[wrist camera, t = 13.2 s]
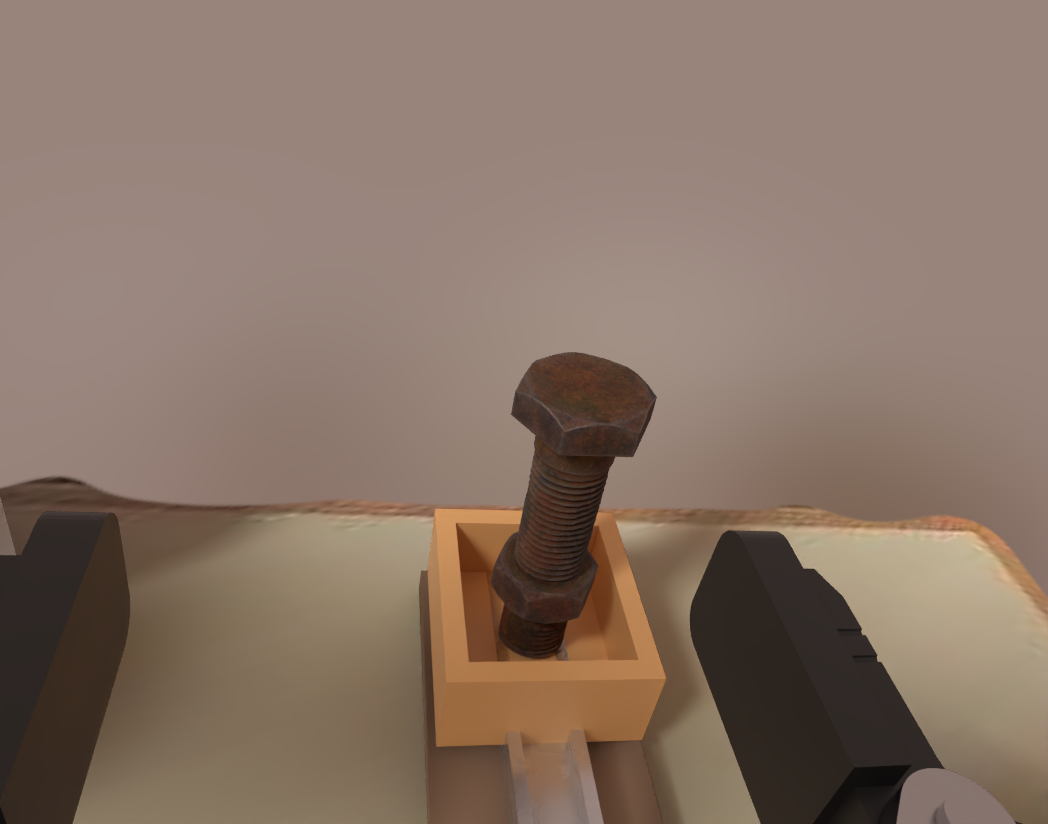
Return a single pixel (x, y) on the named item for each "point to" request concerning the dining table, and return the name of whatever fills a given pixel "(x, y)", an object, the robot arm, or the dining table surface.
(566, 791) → the rail
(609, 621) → the orange open box
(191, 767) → the dining table surface
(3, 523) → the circuit breaker
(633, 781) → the rail board
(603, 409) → the bolt
